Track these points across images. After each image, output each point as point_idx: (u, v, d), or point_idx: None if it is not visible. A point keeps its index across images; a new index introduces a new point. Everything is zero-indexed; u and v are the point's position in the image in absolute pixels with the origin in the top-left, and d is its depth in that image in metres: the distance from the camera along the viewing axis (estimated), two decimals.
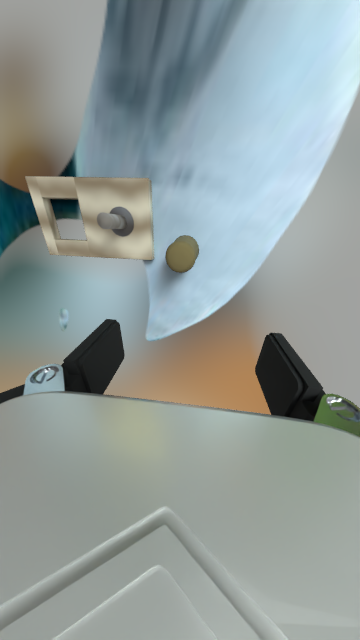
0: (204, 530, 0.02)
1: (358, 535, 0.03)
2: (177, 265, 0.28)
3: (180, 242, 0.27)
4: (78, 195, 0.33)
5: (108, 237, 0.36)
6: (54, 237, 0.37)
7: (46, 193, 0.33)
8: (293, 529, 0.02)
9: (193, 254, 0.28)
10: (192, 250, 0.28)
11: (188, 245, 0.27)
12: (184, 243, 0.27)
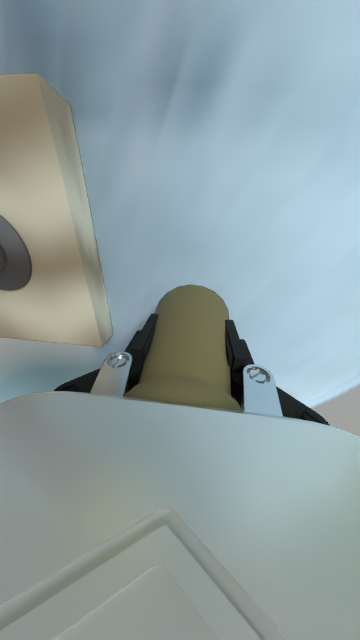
0: (204, 529, 0.02)
1: (358, 535, 0.03)
2: None
3: None
4: None
5: None
6: None
7: None
8: (293, 529, 0.02)
9: None
10: None
11: None
12: None
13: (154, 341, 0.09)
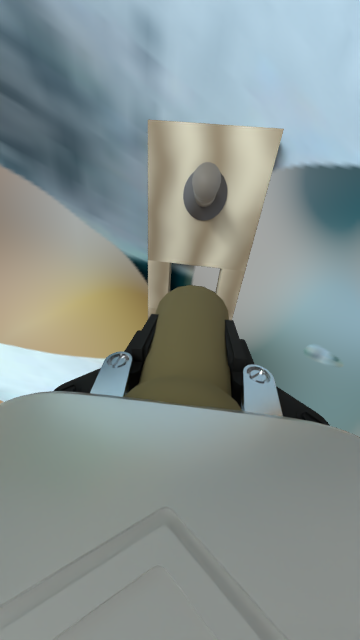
0: (204, 529, 0.02)
1: (358, 535, 0.03)
2: None
3: None
4: (167, 260, 0.24)
5: (223, 228, 0.22)
6: None
7: None
8: (293, 529, 0.02)
9: None
10: None
11: None
12: None
13: (154, 341, 0.09)
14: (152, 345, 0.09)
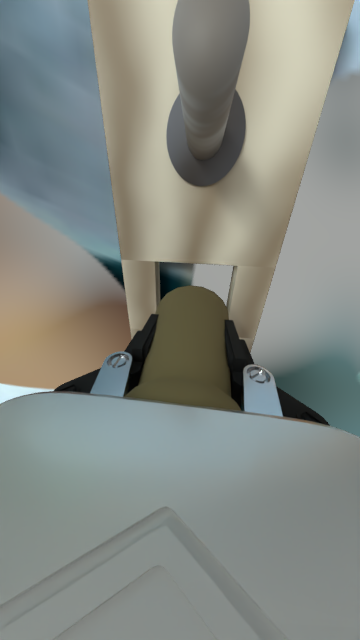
0: (204, 530, 0.02)
1: (358, 535, 0.03)
2: None
3: None
4: (150, 258, 0.16)
5: (239, 197, 0.13)
6: None
7: None
8: (293, 529, 0.02)
9: None
10: None
11: None
12: None
13: (154, 342, 0.09)
14: (152, 346, 0.09)
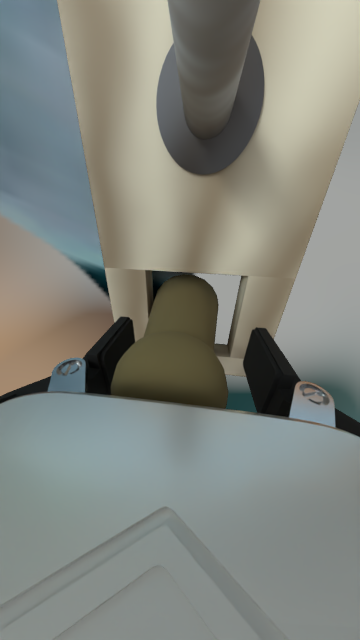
0: (204, 529, 0.02)
1: (358, 535, 0.03)
2: None
3: (164, 360, 0.06)
4: (140, 267, 0.13)
5: (252, 189, 0.10)
6: (224, 355, 0.16)
7: None
8: (293, 529, 0.02)
9: (222, 401, 0.06)
10: (218, 387, 0.06)
11: (201, 372, 0.06)
12: (182, 365, 0.06)
13: (152, 316, 0.11)
14: (151, 318, 0.11)
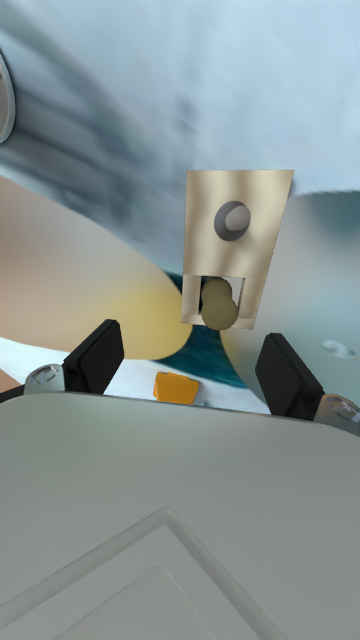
0: (204, 530, 0.02)
1: (358, 535, 0.03)
2: (216, 325, 0.24)
3: (221, 299, 0.23)
4: (199, 274, 0.29)
5: (246, 246, 0.27)
6: None
7: (195, 308, 0.33)
8: (293, 529, 0.02)
9: (236, 312, 0.23)
10: (235, 308, 0.23)
11: (231, 303, 0.23)
12: (226, 301, 0.23)
13: (208, 293, 0.27)
14: (207, 294, 0.27)
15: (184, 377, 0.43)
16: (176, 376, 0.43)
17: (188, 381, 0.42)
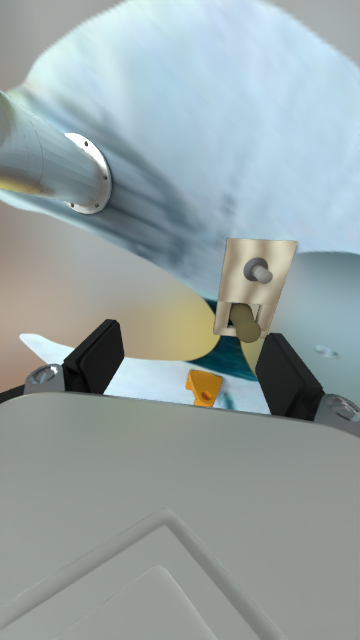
0: (204, 529, 0.02)
1: (358, 535, 0.03)
2: (247, 339, 0.36)
3: (251, 323, 0.35)
4: (230, 301, 0.42)
5: (264, 284, 0.39)
6: None
7: (225, 324, 0.45)
8: (293, 529, 0.02)
9: (260, 331, 0.36)
10: (260, 329, 0.36)
11: (257, 326, 0.35)
12: (254, 324, 0.35)
13: (238, 316, 0.40)
14: (237, 317, 0.40)
15: (210, 373, 0.56)
16: (204, 373, 0.56)
17: (214, 376, 0.55)
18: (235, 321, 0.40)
